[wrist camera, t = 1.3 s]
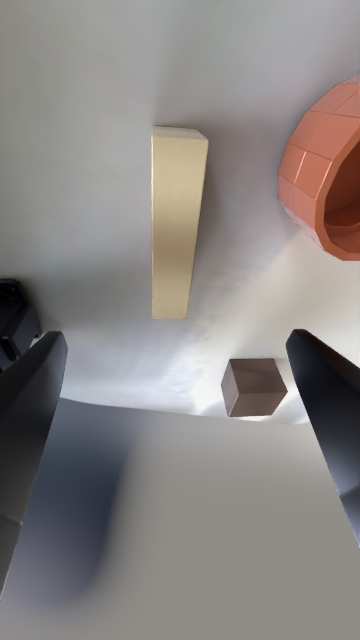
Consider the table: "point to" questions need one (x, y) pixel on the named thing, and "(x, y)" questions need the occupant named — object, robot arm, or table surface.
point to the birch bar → (175, 215)
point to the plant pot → (326, 172)
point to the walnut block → (252, 387)
